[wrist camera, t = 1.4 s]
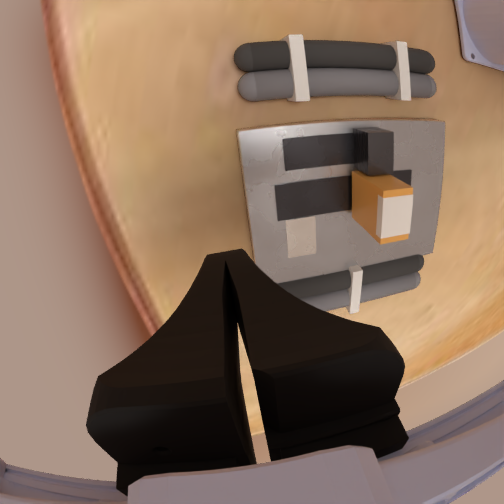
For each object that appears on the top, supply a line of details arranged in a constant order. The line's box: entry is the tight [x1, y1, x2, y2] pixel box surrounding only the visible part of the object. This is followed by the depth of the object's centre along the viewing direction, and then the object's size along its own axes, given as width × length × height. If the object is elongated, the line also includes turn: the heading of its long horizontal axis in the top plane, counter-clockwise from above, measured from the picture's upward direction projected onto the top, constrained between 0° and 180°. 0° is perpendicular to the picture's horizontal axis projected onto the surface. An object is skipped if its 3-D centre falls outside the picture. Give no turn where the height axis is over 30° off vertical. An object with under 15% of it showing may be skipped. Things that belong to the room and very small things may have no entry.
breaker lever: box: [352, 170, 413, 245], centre depth 18 cm, size 2×3×4 cm, turn 7°
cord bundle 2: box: [278, 254, 424, 314], centre depth 24 cm, size 14×4×2 cm, turn 97°
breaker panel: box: [236, 118, 445, 284], centre depth 20 cm, size 15×11×3 cm
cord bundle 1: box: [234, 35, 436, 102], centre depth 16 cm, size 14×4×2 cm, turn 97°
